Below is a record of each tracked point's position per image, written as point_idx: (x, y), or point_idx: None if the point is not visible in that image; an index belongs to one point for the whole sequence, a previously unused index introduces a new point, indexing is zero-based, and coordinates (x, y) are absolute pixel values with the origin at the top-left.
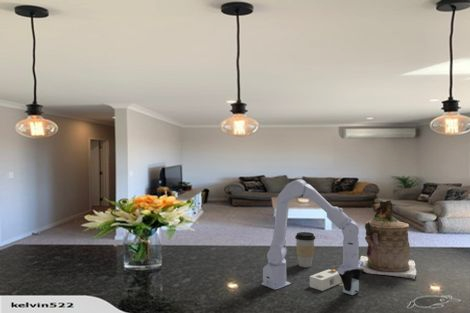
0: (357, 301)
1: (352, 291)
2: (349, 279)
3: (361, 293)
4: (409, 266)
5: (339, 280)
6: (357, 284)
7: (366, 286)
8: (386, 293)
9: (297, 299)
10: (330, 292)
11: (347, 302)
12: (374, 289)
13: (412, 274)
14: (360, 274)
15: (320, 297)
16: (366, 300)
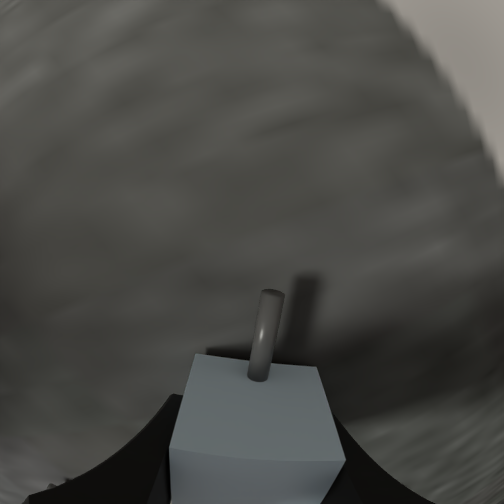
0: (415, 274)
1: (322, 389)
2: (422, 499)
3: (282, 307)
4: None
5: None
6: (212, 416)
7: (21, 337)
8: (34, 134)
9: (482, 476)
10: None
11: (463, 324)
12: (21, 261)
13: None
14: (109, 495)
15: (438, 458)
16: (345, 213)
